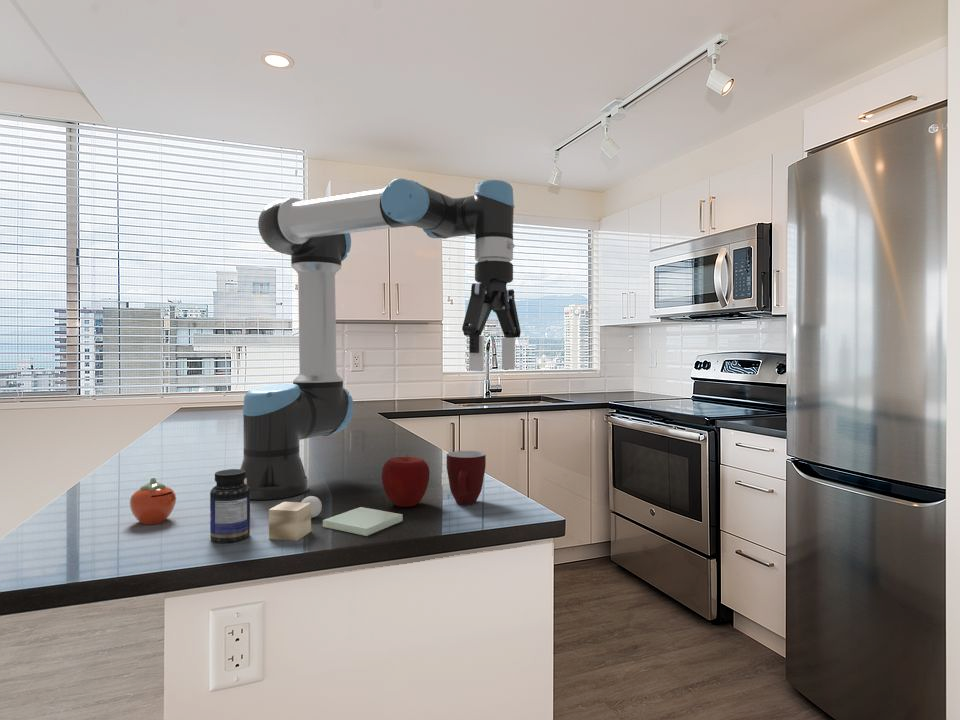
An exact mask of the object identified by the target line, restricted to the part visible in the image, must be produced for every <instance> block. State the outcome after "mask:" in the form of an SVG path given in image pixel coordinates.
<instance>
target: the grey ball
mask: <svg viewBox="0 0 960 720" xmlns="http://www.w3.org/2000/svg"><path fill="white" fill-rule="evenodd" d="M300 503H311V519H313V518H315V517H316V518H317V516H319V514H320V513H321V512H322V507H323V506H322V505H323V504H322V501H321V500H320V498H318V497H317V496H313V495H308V496H306V497H305V498H303V499H302V500H301V502H300Z"/></svg>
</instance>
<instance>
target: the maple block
mask: <svg viewBox="0 0 960 720" xmlns="http://www.w3.org/2000/svg"><path fill="white" fill-rule="evenodd" d="M311 532H312V518H311V503H301V502H298V501H297V502H296V501H282V502H281V503H279V504H276V505H275V506H272V507H271V508H268V539H269V540H277V541H294V542H295V541H296V542H298V541H299V540H300V539H302V538H303V537H305V536H306V535H308V534H310V533H311Z"/></svg>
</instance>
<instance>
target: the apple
mask: <svg viewBox="0 0 960 720" xmlns="http://www.w3.org/2000/svg"><path fill="white" fill-rule="evenodd" d="M429 481H430V466H428V463H427V462H426V461H425V460H424V459H423V458H421V457H415V456H408V455H407V454H406V456H396V457H391V458H388V460H386V461H385V463H384V465H383V466H382V470H381V483H382V486H383V490H384V492H385V495H386V497H387V498H388V500H389V501H390V502H391V503H392V504H393V505H395V506H396V507H400V508H401V507H402V508H408V507H414V506H416V505H418V504H419V503H420V501H421V500H422V499H423V497H424V496H425V494H426V491H427V489H428V485H429Z"/></svg>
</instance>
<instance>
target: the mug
mask: <svg viewBox="0 0 960 720" xmlns="http://www.w3.org/2000/svg"><path fill="white" fill-rule="evenodd" d="M486 460H487V459H486V453H484V452H483V451H477V450H475V451H474V450H457V451H456V450H455V451H451V452H447V453H446V473H447V478H448V484H449V490H450V492H451V494H452V497H453V499H454V501H455V502H456V503H457V504H458V505H462V506H464V505H466V506H468V505H474V504H475V503H476V502H477V500H478V498H479V496H480V495H481V492H482V489H483V484H484V479H485V473H486V464H487V463H486Z"/></svg>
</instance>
